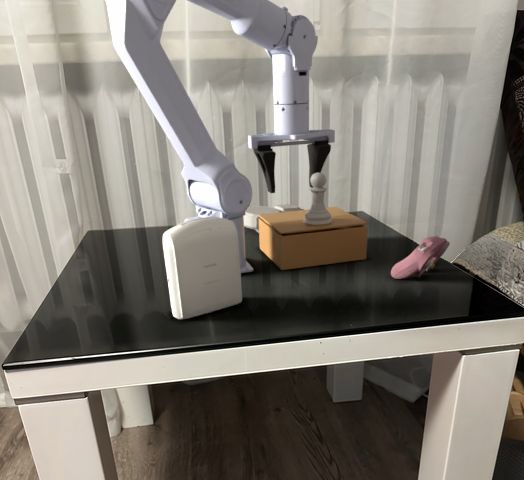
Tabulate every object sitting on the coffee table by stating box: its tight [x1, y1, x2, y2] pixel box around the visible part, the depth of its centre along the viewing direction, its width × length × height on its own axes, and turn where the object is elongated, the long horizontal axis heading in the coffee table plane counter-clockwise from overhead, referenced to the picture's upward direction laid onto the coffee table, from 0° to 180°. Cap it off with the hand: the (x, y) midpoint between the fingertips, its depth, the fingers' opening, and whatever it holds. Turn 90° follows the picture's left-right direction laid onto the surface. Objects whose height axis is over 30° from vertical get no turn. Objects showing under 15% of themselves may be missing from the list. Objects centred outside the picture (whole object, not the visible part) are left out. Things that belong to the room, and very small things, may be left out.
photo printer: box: [162, 217, 243, 320], centre depth 71 cm, size 10×4×12 cm, turn 123°
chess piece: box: [304, 172, 332, 226], centre depth 88 cm, size 5×5×8 cm
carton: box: [258, 213, 369, 271], centre depth 93 cm, size 15×13×6 cm
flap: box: [259, 206, 350, 224], centre depth 95 cm, size 15×6×1 cm, turn 106°
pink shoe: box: [390, 234, 451, 280], centre depth 83 cm, size 10×5×7 cm, turn 143°
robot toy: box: [244, 203, 305, 234], centre depth 110 cm, size 12×4×15 cm
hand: (292, 189), depth 93 cm, fingers open, 7 cm apart
